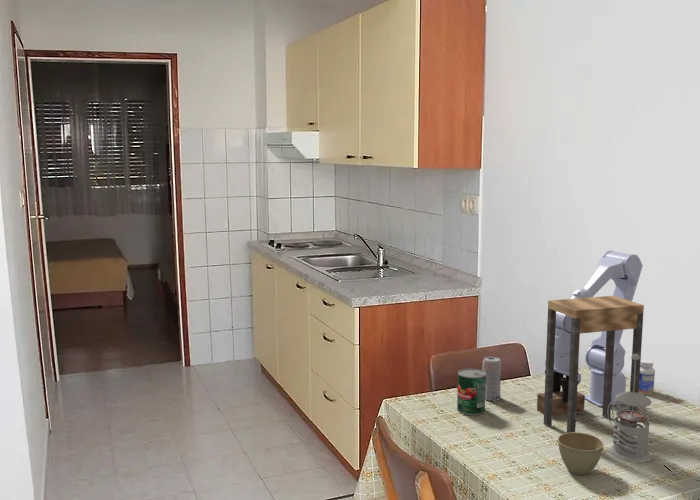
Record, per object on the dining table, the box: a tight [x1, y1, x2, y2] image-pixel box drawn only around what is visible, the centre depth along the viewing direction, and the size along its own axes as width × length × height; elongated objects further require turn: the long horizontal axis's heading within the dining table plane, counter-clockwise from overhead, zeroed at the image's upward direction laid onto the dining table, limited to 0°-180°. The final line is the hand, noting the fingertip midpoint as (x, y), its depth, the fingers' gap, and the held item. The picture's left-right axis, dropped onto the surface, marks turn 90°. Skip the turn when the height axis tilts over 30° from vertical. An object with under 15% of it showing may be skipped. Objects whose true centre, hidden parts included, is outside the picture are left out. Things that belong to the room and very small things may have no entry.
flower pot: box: [557, 431, 604, 476], centre depth 157 cm, size 10×10×7 cm
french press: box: [607, 354, 653, 463], centre depth 165 cm, size 10×12×25 cm
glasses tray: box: [536, 390, 586, 417], centre depth 193 cm, size 12×5×6 cm, turn 107°
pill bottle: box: [639, 358, 656, 396], centre depth 208 cm, size 5×5×10 cm
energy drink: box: [482, 356, 502, 402], centre depth 203 cm, size 5×5×12 cm
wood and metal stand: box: [543, 295, 645, 433], centre depth 179 cm, size 20×12×34 cm, turn 106°
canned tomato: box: [456, 368, 486, 416], centre depth 194 cm, size 8×8×11 cm
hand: (561, 398), depth 193 cm, fingers closed on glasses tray, 5 cm apart
